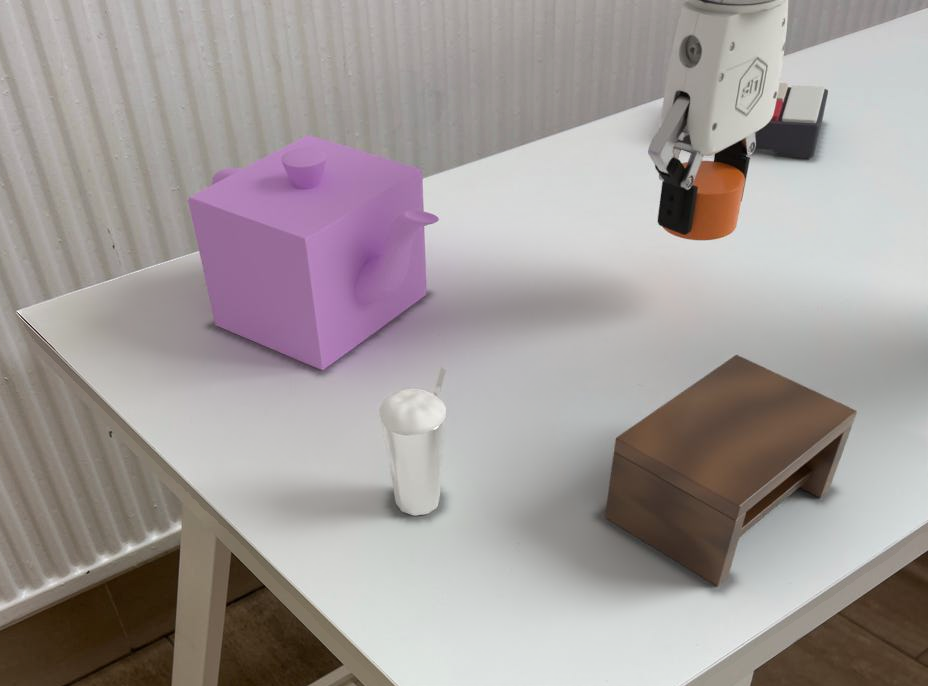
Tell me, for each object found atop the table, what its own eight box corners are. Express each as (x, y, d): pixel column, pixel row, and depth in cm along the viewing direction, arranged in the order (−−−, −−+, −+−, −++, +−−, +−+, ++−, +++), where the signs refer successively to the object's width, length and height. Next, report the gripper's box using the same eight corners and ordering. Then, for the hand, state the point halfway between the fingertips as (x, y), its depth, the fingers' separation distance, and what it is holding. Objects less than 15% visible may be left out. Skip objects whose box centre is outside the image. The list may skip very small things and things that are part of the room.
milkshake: (468, 495, 73) (467, 381, 65) (417, 531, 70) (410, 416, 63) (426, 469, 75) (420, 355, 67) (374, 502, 72) (363, 388, 65)
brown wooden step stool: (828, 491, 72) (857, 410, 67) (717, 586, 66) (739, 506, 61) (717, 433, 77) (736, 353, 72) (604, 517, 71) (615, 437, 65)
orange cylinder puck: (751, 221, 86) (760, 175, 83) (706, 248, 83) (714, 201, 80) (690, 199, 89) (697, 153, 86) (645, 224, 86) (650, 178, 83)
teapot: (388, 398, 81) (375, 235, 70) (177, 309, 91) (139, 154, 80) (489, 317, 89) (492, 160, 78) (286, 243, 99) (264, 95, 88)
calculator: (699, 75, 117) (830, 81, 113) (695, 113, 120) (822, 120, 116) (683, 110, 110) (821, 118, 106) (679, 150, 113) (813, 158, 109)
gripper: (709, 16, 66) (673, 265, 79) (846, -44, 74) (792, 193, 87) (623, -6, 70) (602, 236, 83) (761, -60, 77) (722, 169, 91)
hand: (699, 212), depth 85 cm, fingers closed on orange cylinder puck, 6 cm apart
